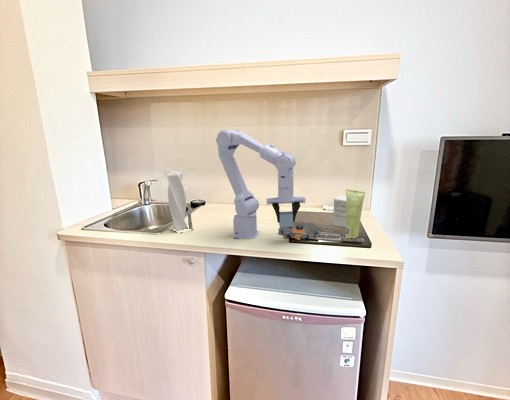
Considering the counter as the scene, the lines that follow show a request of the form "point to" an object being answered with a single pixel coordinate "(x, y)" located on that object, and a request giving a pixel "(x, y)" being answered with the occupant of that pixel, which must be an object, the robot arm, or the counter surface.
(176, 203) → the skyscraper
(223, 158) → the robot arm
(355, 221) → the tube
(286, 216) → the link block
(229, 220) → the counter surface
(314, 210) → the counter surface
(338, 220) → the supplement box
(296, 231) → the sprocket
